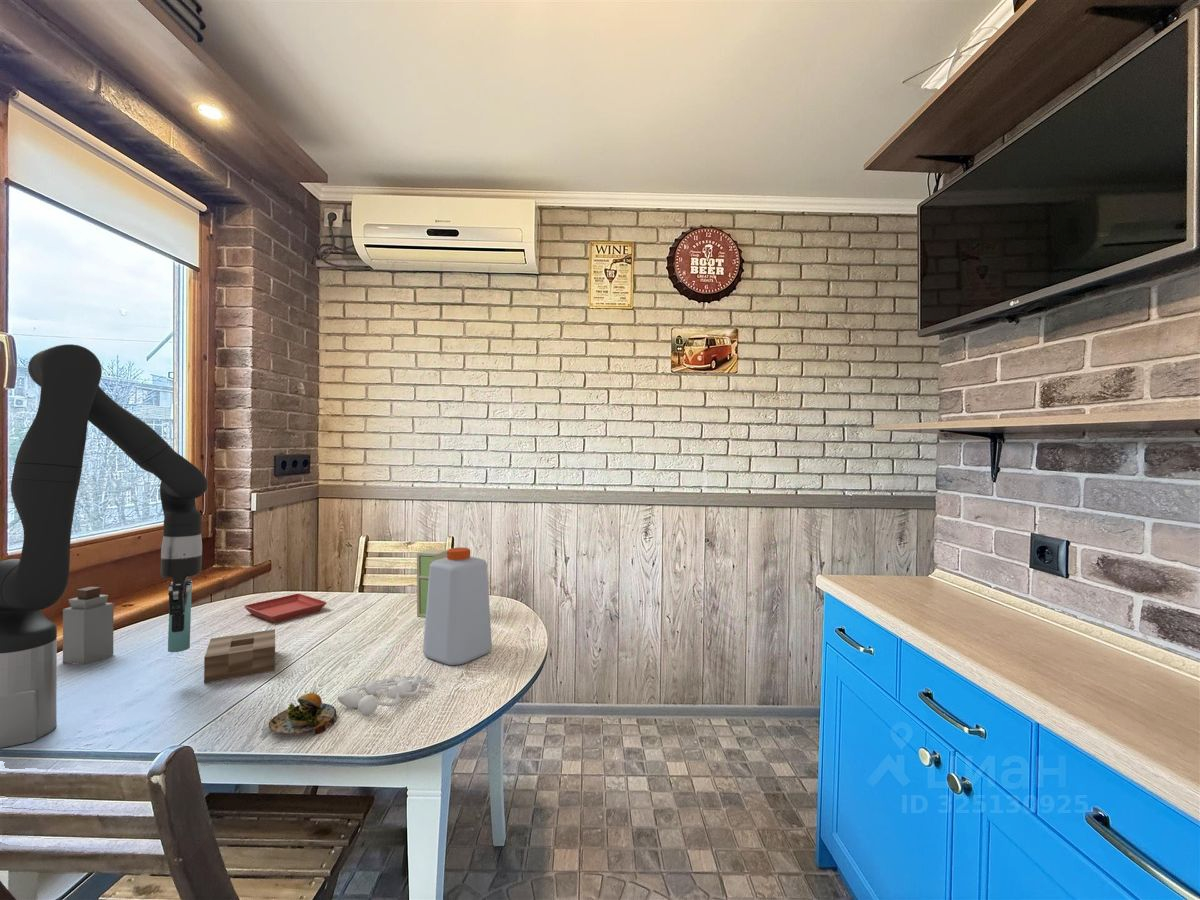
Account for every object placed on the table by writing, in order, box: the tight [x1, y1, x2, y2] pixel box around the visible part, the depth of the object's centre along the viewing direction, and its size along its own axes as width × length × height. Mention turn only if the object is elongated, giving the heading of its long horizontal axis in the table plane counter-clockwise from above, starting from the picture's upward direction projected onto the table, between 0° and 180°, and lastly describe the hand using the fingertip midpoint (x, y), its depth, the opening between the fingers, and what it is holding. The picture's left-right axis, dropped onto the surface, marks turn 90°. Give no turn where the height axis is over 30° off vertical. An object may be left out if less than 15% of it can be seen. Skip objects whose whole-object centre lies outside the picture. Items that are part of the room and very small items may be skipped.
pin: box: [167, 583, 193, 653], centre depth 124 cm, size 4×4×15 cm
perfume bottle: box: [62, 586, 115, 666], centre depth 137 cm, size 7×7×18 cm
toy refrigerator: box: [416, 548, 449, 618], centre depth 175 cm, size 8×7×21 cm
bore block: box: [203, 628, 276, 684], centre depth 134 cm, size 14×14×6 cm
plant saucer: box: [243, 593, 328, 623], centre depth 176 cm, size 18×18×3 cm
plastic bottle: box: [422, 547, 493, 666], centre depth 144 cm, size 15×15×28 cm
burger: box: [268, 685, 338, 736], centre depth 106 cm, size 12×12×8 cm
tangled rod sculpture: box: [337, 674, 430, 716], centre depth 119 cm, size 19×14×4 cm
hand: (179, 628), depth 124 cm, fingers closed on pin, 4 cm apart
